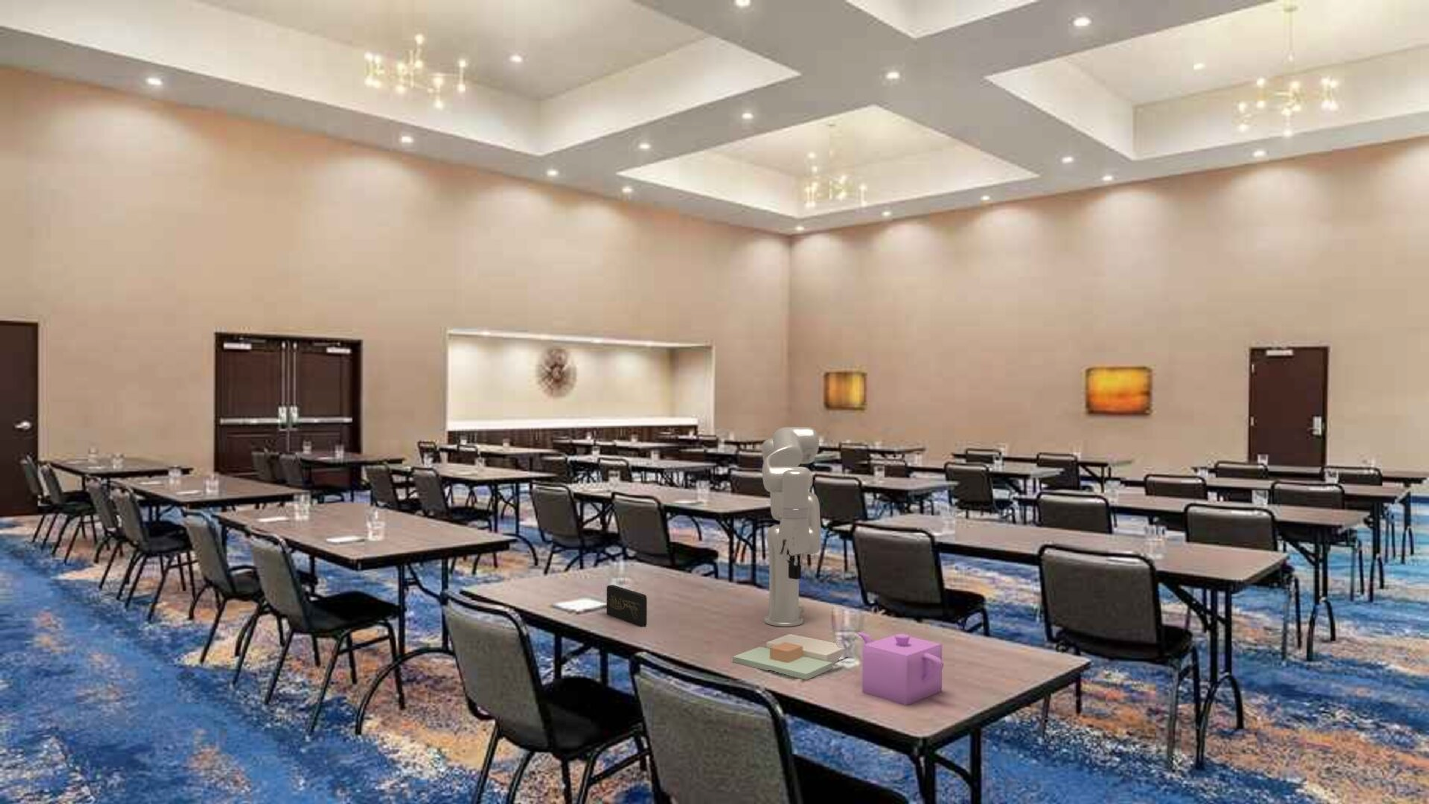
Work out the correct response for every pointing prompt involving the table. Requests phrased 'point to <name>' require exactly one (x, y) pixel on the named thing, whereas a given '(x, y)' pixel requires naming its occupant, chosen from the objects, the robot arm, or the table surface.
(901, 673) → the teapot
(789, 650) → the terracotta tile
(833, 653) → the plate
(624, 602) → the nameplate
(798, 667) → the sage mat
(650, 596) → the table surface
